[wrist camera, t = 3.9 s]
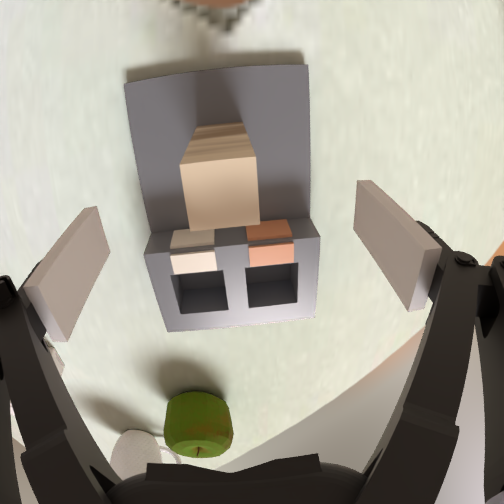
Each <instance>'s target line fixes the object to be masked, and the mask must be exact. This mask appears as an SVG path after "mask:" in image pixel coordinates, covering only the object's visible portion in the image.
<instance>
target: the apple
mask: <svg viewBox="0 0 504 504" xmlns="http://www.w3.org/2000/svg"><path fill="white" fill-rule="evenodd" d="M233 434H234V433H233V427H232V421H231V416H230V412H229V407H228V406H227V404H226V402H225V401H223V400H221V399H220V398H218V397H216V396H214V395H212V394H209V393H206V392H200V391H192V392H186V393H182V394H180V395H178V396H176V397H173V398H172V399H171V400H170V401H169V402H168V404H167V411H166V418H165V425H164V439H165V443H166V445H167V446H168V447H169V448H170V449H171V450H172V451H173V452H175V453H177V454H179V455H183V456H187V457H192V458H210V457H216V456H220V455H221V454H223V453H224V452H225V451H226V450H228V449H229V448H230V446H231V443H232V439H233Z"/></svg>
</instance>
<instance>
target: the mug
mask: <svg viewBox="0 0 504 504" xmlns="http://www.w3.org/2000/svg"><path fill="white" fill-rule="evenodd" d="M161 451H162V452H167V453H169V454H171V455H172V456H173V457H174V458H175V460H176V462H177V464H181V460H180V458H179V456H178V455H177V453H175V452H173V451H172V450H171V449H169V448H166V447H163V446H159V445H158V443H157V441H156V439H155V438H154V436H152V435H151V434H149V433H147V432H145V431H141V430H127V431H126V432H124V433H123V434H122V435H121V436H120V437H119V439H118V440H117V442H116V444H115V446H114V449H113V452H112V456H111V461H110V466H111V467H112V469H113V470H114V471H115V473H116V474H117V475H118V476H119V477H120V478H121V479H122V480H125V479H127V478H129V477H131V476H134V475H137V474H141V473H145V472H146V468H147V463H162V456H161Z"/></svg>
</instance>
